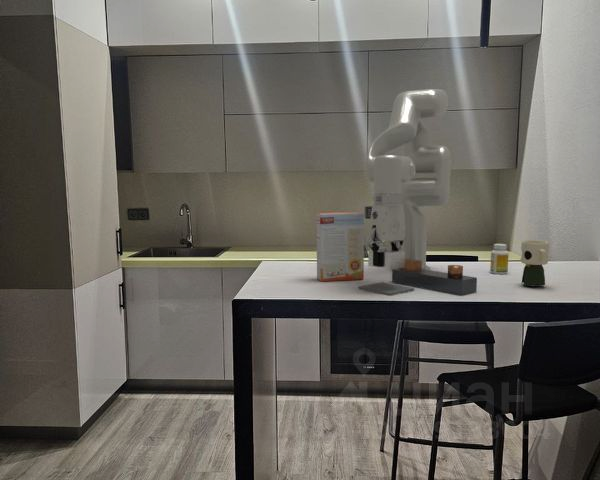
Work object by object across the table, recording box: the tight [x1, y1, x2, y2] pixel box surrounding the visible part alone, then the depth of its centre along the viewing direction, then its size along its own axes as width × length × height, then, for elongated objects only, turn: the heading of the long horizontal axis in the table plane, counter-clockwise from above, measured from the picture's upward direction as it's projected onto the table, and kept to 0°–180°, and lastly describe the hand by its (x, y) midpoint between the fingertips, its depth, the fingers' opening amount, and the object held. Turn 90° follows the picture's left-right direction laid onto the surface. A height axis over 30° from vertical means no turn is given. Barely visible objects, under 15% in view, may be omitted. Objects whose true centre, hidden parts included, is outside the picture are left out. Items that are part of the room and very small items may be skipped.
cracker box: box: [315, 211, 365, 282], centre depth 155 cm, size 14×6×21 cm, turn 101°
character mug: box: [520, 239, 550, 288], centre depth 143 cm, size 11×7×13 cm, turn 2°
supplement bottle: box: [489, 243, 509, 275], centre depth 165 cm, size 5×5×10 cm
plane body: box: [391, 258, 478, 296], centre depth 143 cm, size 24×7×7 cm, turn 39°
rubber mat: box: [357, 281, 415, 296], centre depth 140 cm, size 12×10×1 cm
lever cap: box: [367, 246, 405, 270], centre depth 139 cm, size 8×6×5 cm
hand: (386, 264), depth 139 cm, fingers closed on lever cap, 6 cm apart
